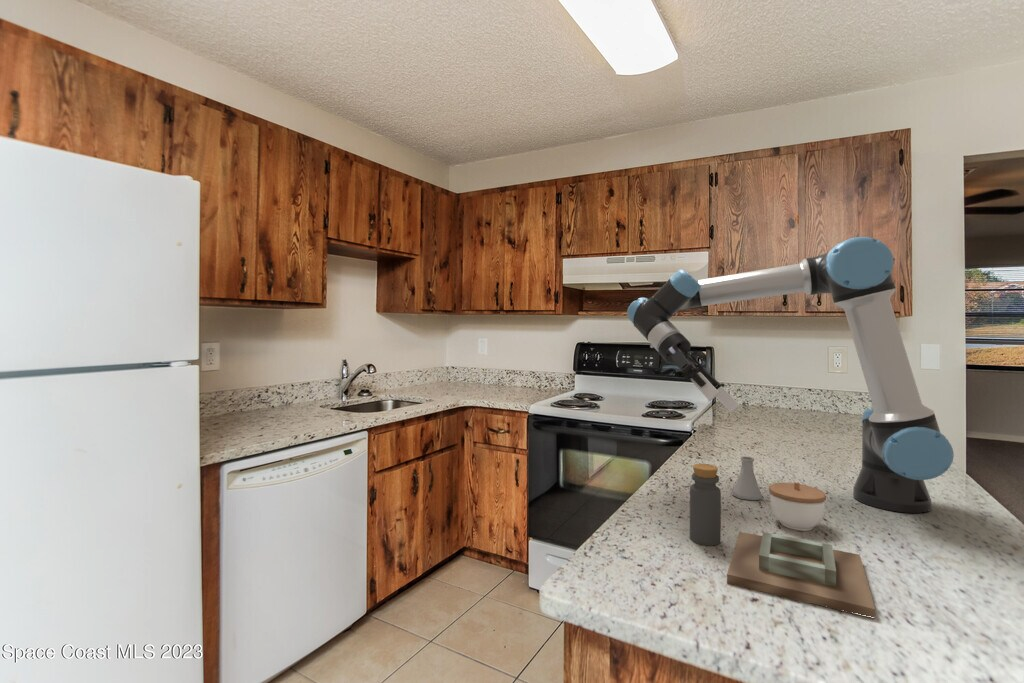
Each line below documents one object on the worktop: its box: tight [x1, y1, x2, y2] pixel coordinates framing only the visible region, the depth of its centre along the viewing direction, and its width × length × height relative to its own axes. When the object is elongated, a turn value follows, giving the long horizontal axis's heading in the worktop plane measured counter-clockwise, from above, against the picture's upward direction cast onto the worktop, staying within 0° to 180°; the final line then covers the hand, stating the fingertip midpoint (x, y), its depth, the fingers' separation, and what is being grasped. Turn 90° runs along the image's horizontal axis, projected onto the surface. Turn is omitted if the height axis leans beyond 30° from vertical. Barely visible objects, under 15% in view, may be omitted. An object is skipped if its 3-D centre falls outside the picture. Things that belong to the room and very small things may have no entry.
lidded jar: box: [768, 481, 827, 532], centre depth 104 cm, size 11×11×9 cm
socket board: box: [726, 531, 876, 618], centre depth 84 cm, size 20×20×4 cm
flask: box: [731, 455, 763, 501], centre depth 123 cm, size 7×7×10 cm
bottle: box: [689, 463, 722, 547], centre depth 97 cm, size 6×6×15 cm
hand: (725, 403), depth 109 cm, fingers open, 13 cm apart
